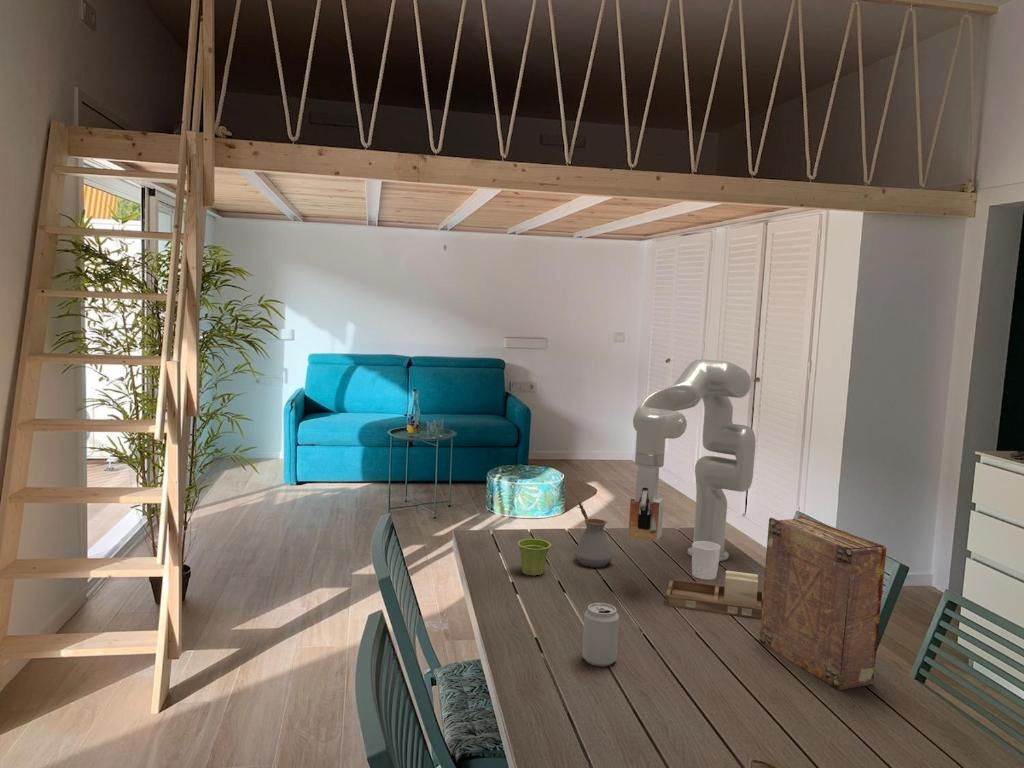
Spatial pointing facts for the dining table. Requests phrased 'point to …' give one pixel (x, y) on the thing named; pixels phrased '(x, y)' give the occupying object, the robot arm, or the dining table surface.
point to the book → (823, 600)
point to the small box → (656, 520)
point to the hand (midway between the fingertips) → (645, 525)
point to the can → (600, 634)
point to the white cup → (705, 559)
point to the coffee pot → (593, 543)
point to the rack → (708, 599)
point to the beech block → (741, 588)
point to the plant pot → (533, 555)
